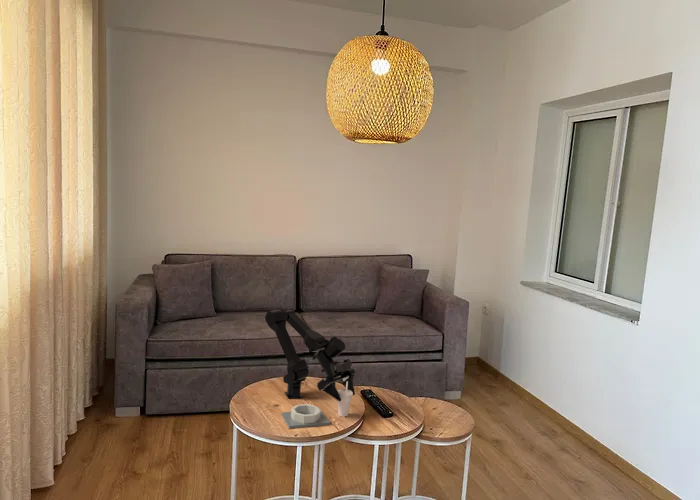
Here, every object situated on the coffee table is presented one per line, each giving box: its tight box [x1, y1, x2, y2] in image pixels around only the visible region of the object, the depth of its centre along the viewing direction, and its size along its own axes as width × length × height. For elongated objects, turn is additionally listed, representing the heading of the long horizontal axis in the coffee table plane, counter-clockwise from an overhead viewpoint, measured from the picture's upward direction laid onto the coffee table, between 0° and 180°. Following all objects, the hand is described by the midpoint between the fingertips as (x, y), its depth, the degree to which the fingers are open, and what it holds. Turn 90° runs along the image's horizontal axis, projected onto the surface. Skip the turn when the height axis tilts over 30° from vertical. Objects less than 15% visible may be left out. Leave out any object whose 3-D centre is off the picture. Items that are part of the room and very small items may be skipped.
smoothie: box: [337, 381, 354, 417], centre depth 204 cm, size 6×6×14 cm
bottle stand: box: [280, 403, 331, 429], centre depth 197 cm, size 12×16×4 cm
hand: (347, 397), depth 203 cm, fingers open, 9 cm apart
